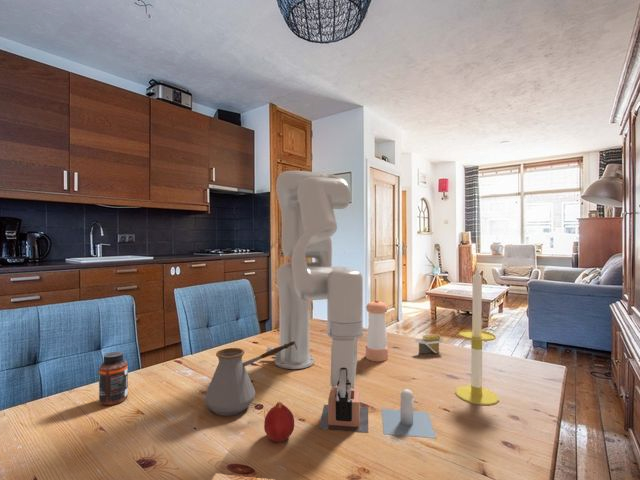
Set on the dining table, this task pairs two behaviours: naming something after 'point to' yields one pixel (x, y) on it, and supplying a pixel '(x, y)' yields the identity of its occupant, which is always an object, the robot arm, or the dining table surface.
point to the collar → (355, 408)
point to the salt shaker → (376, 332)
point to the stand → (362, 426)
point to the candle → (476, 351)
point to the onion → (279, 423)
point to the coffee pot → (233, 381)
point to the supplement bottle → (113, 379)
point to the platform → (429, 344)
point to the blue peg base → (407, 419)
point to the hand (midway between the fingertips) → (345, 408)
